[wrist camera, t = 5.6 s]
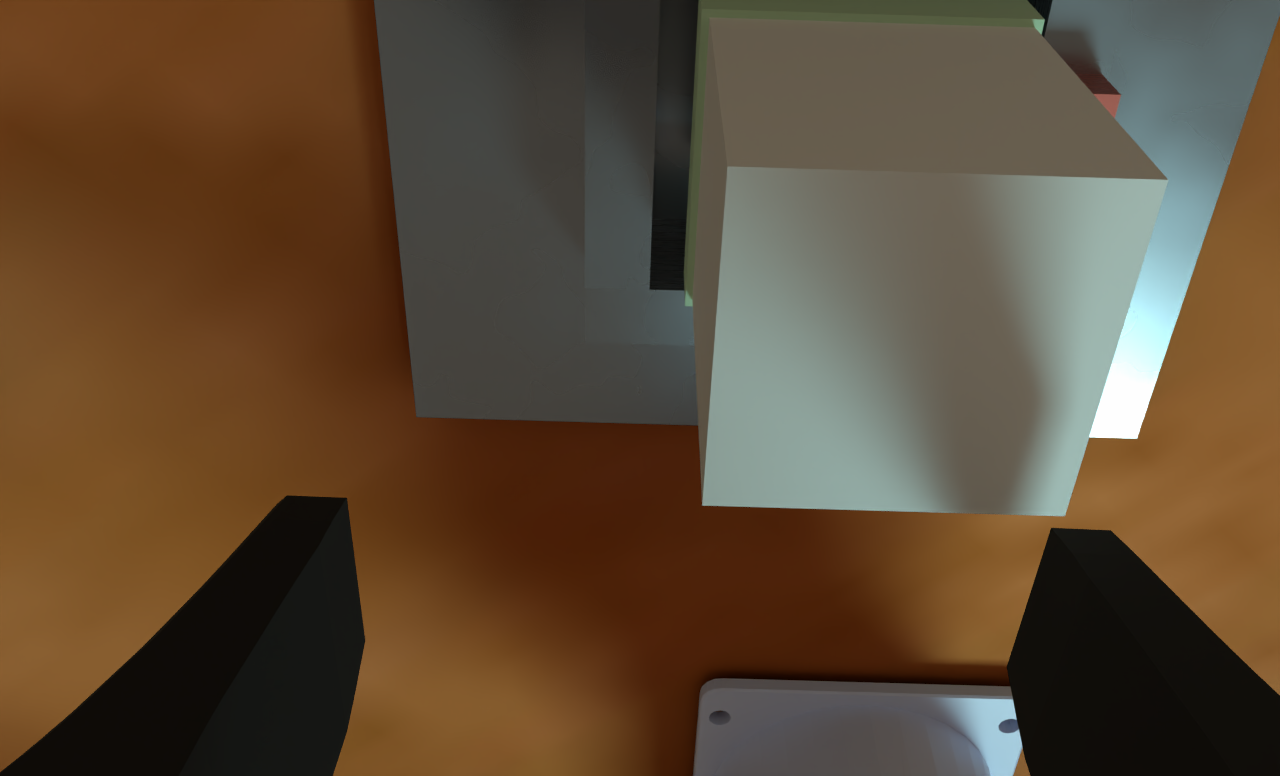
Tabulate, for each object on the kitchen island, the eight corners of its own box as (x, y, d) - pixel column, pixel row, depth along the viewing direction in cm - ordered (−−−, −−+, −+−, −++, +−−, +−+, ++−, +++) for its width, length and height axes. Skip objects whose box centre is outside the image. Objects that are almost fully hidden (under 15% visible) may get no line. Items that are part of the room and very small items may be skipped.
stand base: (1119, 408, 23) (1202, 554, 20) (425, 388, 23) (383, 530, 20) (1395, -448, 15) (1616, -463, 12) (342, -484, 15) (247, -508, 12)
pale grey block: (949, 249, 18) (1071, 523, 13) (682, 242, 18) (692, 511, 13) (1004, -25, 16) (1182, 170, 10) (697, -34, 16) (717, 156, 10)
